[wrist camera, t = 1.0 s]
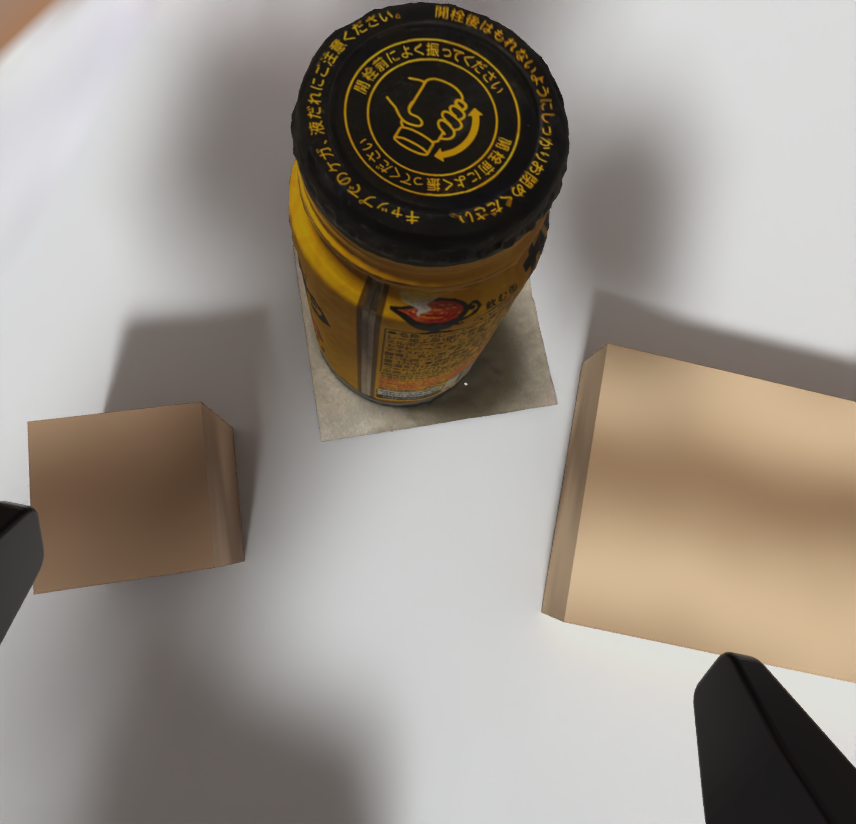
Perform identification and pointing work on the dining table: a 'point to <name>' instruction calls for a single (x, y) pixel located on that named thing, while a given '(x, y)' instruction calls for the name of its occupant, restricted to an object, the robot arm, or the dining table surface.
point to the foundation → (709, 513)
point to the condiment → (423, 218)
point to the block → (133, 495)
